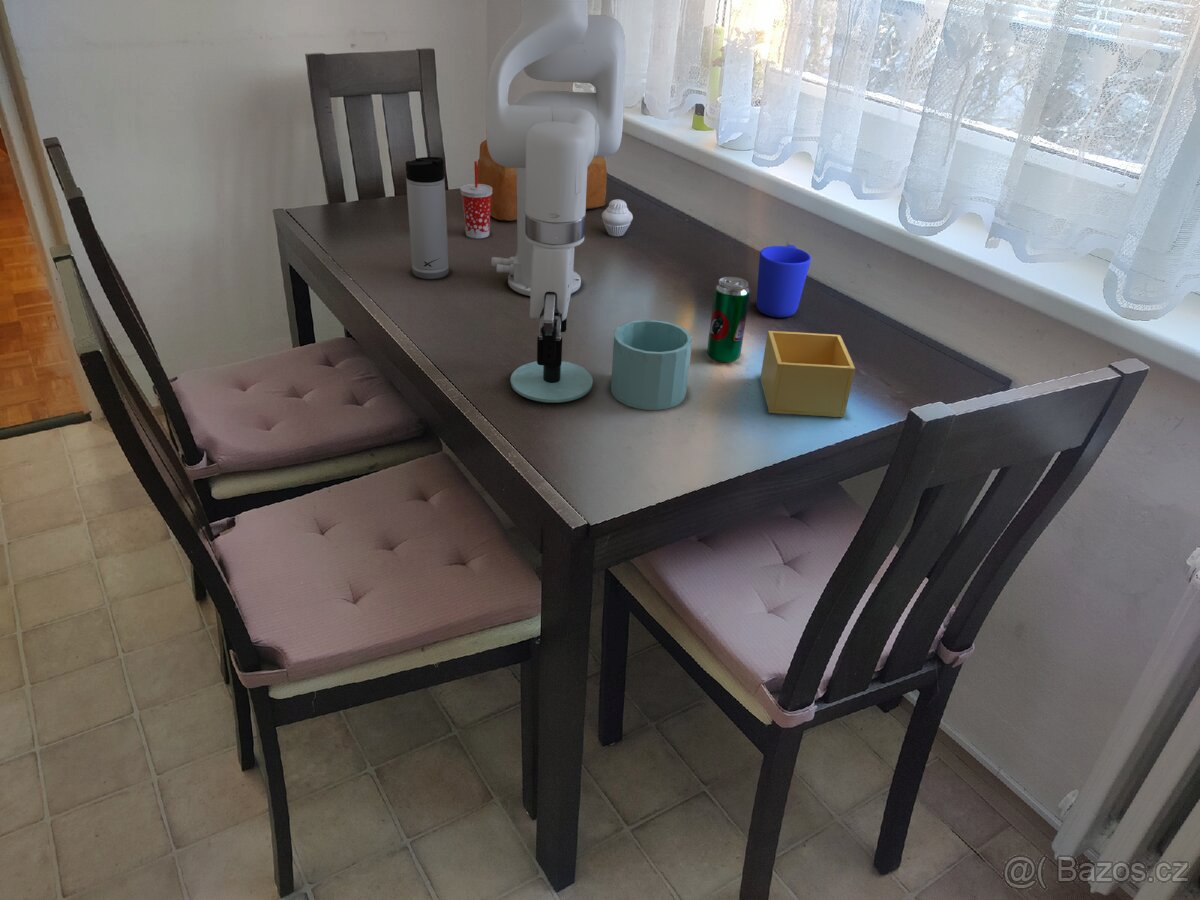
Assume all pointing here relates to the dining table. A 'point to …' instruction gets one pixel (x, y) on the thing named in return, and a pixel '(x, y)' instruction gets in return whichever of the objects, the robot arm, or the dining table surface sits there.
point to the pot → (650, 364)
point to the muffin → (617, 218)
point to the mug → (781, 280)
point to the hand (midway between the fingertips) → (552, 347)
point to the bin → (806, 374)
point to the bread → (506, 184)
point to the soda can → (728, 319)
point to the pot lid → (551, 382)
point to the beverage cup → (476, 208)
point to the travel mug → (427, 217)
